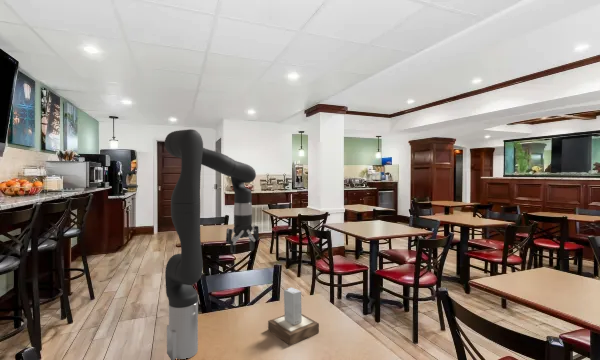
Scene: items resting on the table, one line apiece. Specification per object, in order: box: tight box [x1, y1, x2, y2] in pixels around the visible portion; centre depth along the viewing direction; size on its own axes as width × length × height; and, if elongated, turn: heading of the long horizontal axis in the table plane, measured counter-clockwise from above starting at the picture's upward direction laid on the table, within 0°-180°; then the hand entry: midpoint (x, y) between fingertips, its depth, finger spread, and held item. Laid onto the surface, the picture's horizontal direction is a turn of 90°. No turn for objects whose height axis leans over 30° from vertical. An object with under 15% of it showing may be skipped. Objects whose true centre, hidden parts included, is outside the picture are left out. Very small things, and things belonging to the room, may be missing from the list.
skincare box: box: [283, 287, 303, 325], centre depth 119 cm, size 6×4×12 cm
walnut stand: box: [267, 313, 320, 346], centre depth 119 cm, size 14×14×4 cm
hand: (242, 251), depth 130 cm, fingers open, 8 cm apart
